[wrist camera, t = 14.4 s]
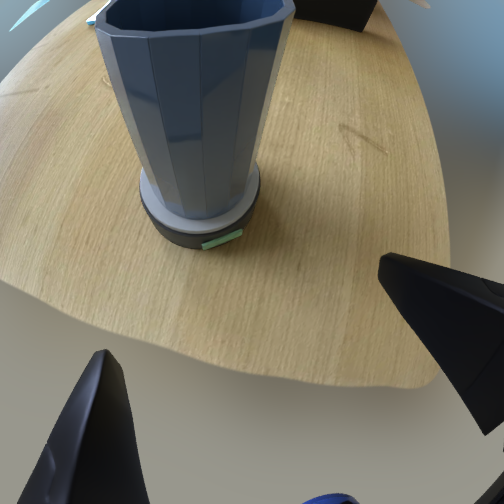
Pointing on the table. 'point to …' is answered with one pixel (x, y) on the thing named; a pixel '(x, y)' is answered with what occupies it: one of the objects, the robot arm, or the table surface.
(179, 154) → the tumbler
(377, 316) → the table surface
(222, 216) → the kitchen scale
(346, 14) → the radio
